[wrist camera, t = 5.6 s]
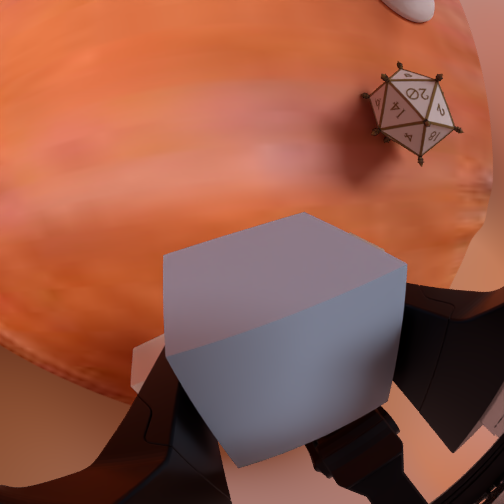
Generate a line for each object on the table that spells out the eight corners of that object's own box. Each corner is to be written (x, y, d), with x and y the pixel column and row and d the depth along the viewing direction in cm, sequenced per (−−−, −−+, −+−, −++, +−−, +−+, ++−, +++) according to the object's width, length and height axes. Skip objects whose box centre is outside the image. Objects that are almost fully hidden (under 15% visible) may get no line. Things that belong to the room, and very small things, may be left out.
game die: (352, 128, 26) (360, 162, 18) (361, 52, 20) (378, 51, 13) (428, 148, 24) (461, 191, 17) (443, 77, 19) (489, 93, 11)
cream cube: (205, 361, 26) (215, 399, 21) (162, 380, 25) (165, 418, 20) (179, 325, 23) (184, 363, 19) (133, 347, 23) (130, 386, 18)
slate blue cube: (318, 323, 12) (387, 401, 7) (207, 364, 11) (238, 468, 6) (304, 211, 10) (407, 263, 5) (163, 255, 9) (165, 356, 4)
